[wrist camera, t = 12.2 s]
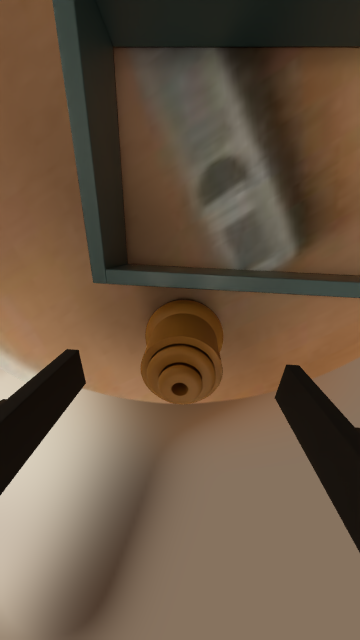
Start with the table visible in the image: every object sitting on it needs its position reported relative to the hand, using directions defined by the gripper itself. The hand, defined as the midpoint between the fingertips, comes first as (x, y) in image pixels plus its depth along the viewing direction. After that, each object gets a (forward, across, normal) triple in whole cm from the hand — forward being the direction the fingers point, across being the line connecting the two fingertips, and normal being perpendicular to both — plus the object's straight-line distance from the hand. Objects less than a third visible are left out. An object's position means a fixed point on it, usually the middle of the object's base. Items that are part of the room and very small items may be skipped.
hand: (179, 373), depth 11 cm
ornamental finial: (+7, 0, -1) cm, 7 cm away
